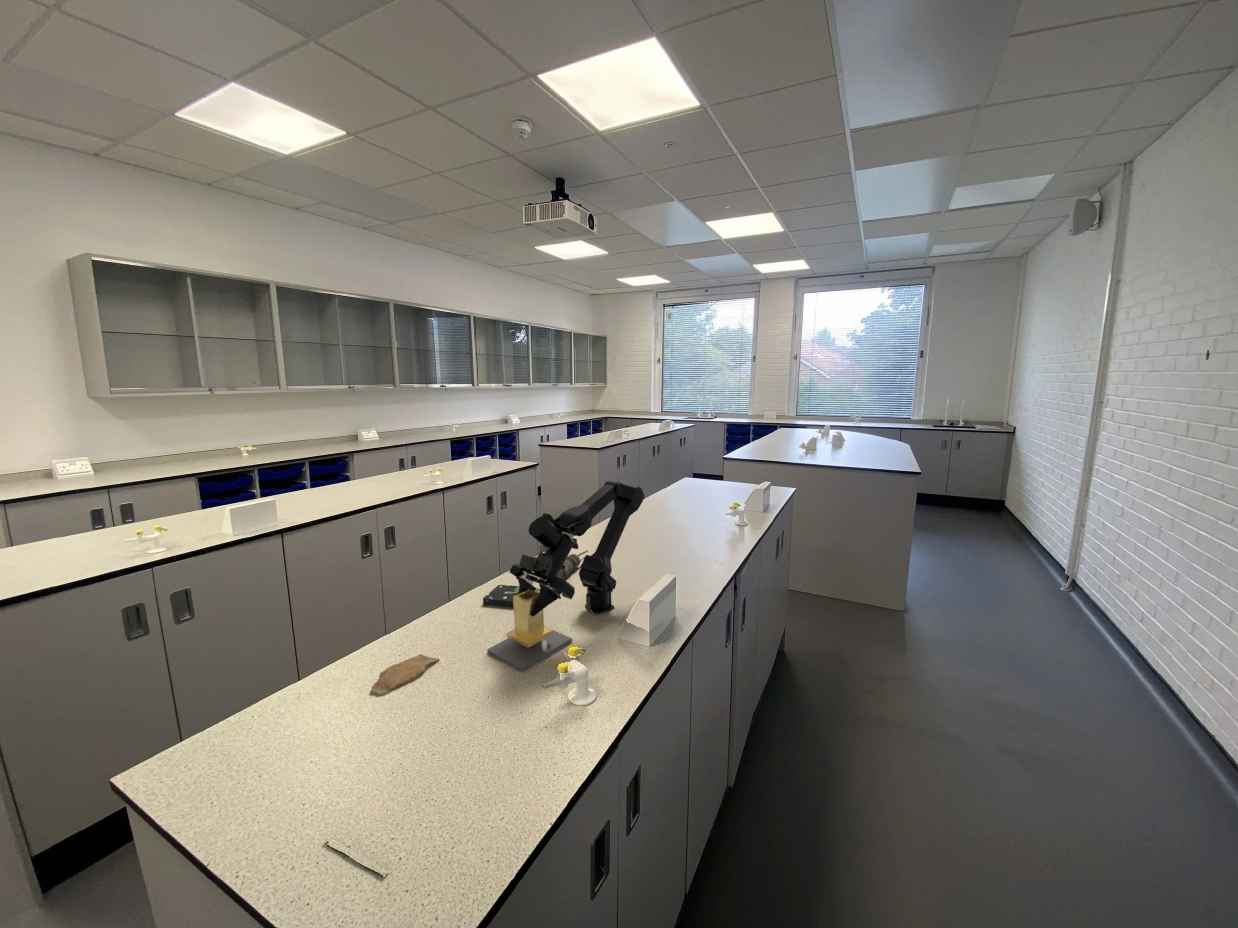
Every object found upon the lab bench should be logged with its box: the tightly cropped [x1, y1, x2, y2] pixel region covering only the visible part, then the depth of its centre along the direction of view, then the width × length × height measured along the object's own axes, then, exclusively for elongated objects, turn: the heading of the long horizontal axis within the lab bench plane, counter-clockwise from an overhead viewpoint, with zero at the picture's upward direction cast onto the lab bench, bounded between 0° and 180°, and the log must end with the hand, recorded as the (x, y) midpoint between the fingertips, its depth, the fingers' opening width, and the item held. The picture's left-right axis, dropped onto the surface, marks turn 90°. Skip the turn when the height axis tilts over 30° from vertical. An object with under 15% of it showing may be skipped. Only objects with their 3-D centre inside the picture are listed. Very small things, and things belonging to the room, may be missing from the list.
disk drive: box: [482, 584, 540, 609], centre depth 145 cm, size 10×3×15 cm
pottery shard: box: [370, 654, 440, 696], centre depth 108 cm, size 8×16×2 cm, turn 143°
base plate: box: [486, 627, 573, 673], centre depth 118 cm, size 16×13×5 cm
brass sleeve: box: [506, 589, 554, 648], centre depth 117 cm, size 8×8×10 cm
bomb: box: [538, 549, 589, 587], centre depth 165 cm, size 5×34×5 cm, turn 162°
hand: (524, 612), depth 116 cm, fingers closed on brass sleeve, 5 cm apart
